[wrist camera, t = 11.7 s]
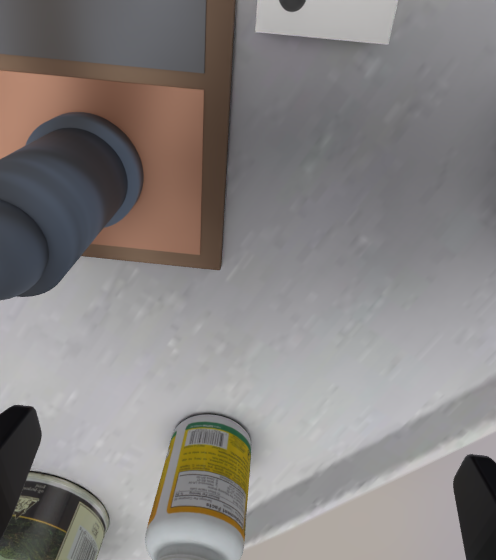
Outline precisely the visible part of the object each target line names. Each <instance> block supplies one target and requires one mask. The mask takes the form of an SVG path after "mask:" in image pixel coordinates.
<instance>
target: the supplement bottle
mask: <svg viewBox="0 0 496 560" xmlns="http://www.w3.org/2000/svg"><path fill="white" fill-rule="evenodd" d="M250 460H251V440H250V437H249V435H248V433H247V432H246V431H245V430H244V429H243V428H242V427H241V426H240V425H239V424H237V423H236V422H234V421H233V420H231V419H228V418H225V417H222V416H218V415H210V414H205V415H197V416H193V417H190V418H188V419H186V420H184V421H183V422H181V423H180V424H179V425H178V426H177V427H176V428H175V430H174V432H173V435H172V438H171V441H170V445H169V449H168V453H167V456H166V460H165V464H164V468H163V472H162V475H161V479H160V483H159V486H158V490H157V494H156V497H155V501H154V505H153V508H152V512H151V515H150V519H149V522H148V527H147V531H146V537H145V543H146V549H147V552H148V554H149V556H150V557H151V559H152V560H240V559H241V556H242V554H243V549H244V539H245V526H246V512H247V500H248V487H249V473H250Z"/></svg>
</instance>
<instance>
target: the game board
mask: <svg viewBox="0 0 496 560" xmlns="http://www.w3.org/2000/svg"><path fill="white" fill-rule="evenodd" d="M235 2H236V0H0V159H2V158H3V157H5V156H7V155H9V154H11V153H13V152H15V151H16V150H18V149H20V148H22V147H24V146H25V145H26V142H27V140H28V138H29V136H30V135H31V134H32V132H33V131H34V130H35V129H36V128H37V127H38V126H40V125H41V124H43V123H44V122H46V121H49V120H51V119H53V118H55V117H57V116H59V115H61V114H65V113H69V112H85V113H91V114H94V115H98V116H100V117H102V118H105V119H106V120H108V121H110V122H112V123H113V124H114V125H116V126H117V127H118V128H120V129H121V130H122V131H123V132H124V133H125V134H126V135H127V137H128V138H129V139H130V140H131V142H132V143H133V145H134V146H135V148H136V150H137V152H138V154H139V157H140V159H141V162H142V167H143V174H144V182H143V188H142V191H141V194H140V197H139V199H138V200H137V202H136V203H135V205H134V206H133V207H132V209H131V210H130V211H129V213H128V214H127V215H126V216H125V217H124V218H123V219H122V220H120V221H119V222H117V223H116V224H114V225H111V226H109V227H105V228H103V229H102V231H101V232H100V233H99V234H98V235H97V237H96V238H95V239H94V240H93V242H92V243H91V244H90V245H89V246H88V248H87V249H86V250H85V251H84V253H83V254H82V255H81V256H87V257H96V258H106V259H115V260H125V261H135V262H144V263H154V264H164V265H173V266H183V267H192V268H202V269H212V270H220V269H221V262H222V243H223V225H224V206H225V188H226V169H227V151H228V132H229V114H230V95H231V77H232V58H233V39H234V21H235Z"/></svg>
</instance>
